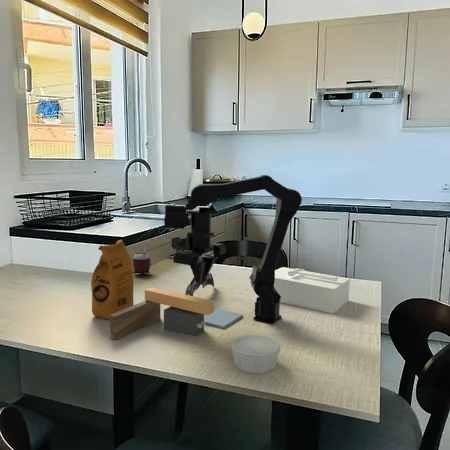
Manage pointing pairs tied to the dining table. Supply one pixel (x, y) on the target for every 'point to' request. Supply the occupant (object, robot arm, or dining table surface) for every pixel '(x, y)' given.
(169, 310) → the charcoal wedge block
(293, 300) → the tissue box
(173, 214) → the robot arm
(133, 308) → the rail
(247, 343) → the ramekin
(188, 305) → the tan wooden bar
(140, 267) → the mate gourd
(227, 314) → the pad
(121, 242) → the coffee package
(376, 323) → the dining table surface
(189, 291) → the grey curved piece
